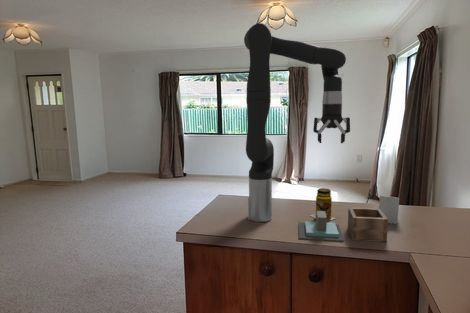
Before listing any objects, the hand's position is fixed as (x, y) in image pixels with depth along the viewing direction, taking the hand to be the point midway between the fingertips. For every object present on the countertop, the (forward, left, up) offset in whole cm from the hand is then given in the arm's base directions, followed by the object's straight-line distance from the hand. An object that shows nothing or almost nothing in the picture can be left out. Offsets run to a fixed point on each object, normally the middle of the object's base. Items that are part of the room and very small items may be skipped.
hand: (331, 143), depth 133 cm
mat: (-5, -21, -30) cm, 37 cm away
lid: (-5, -21, -30) cm, 36 cm away
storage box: (+11, -21, -30) cm, 38 cm away
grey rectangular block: (+22, -6, -30) cm, 38 cm away
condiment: (-3, -5, -30) cm, 31 cm away
